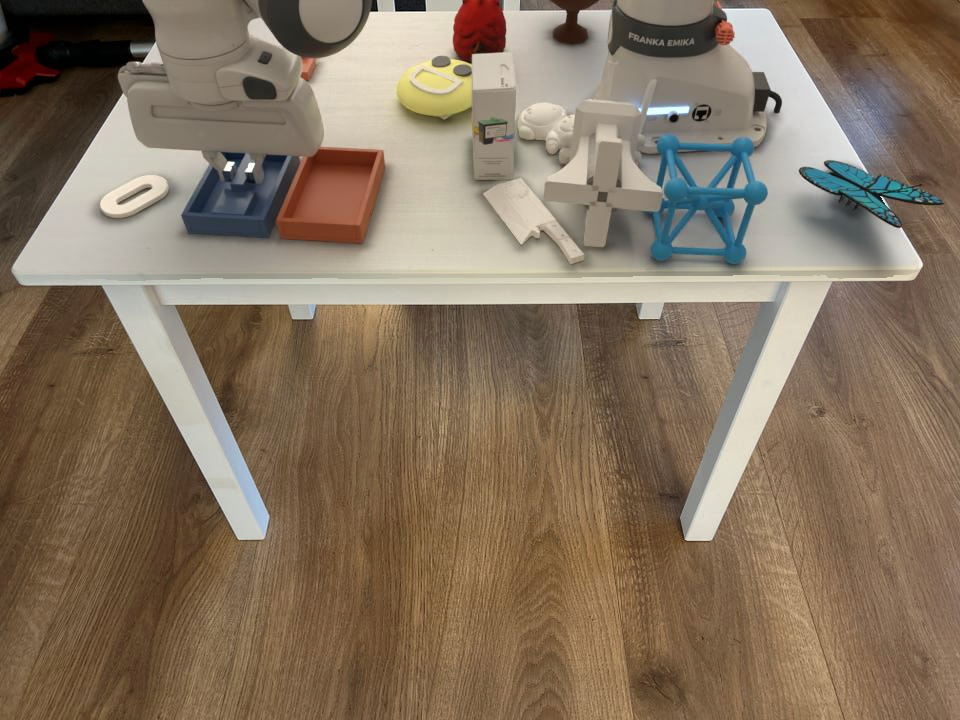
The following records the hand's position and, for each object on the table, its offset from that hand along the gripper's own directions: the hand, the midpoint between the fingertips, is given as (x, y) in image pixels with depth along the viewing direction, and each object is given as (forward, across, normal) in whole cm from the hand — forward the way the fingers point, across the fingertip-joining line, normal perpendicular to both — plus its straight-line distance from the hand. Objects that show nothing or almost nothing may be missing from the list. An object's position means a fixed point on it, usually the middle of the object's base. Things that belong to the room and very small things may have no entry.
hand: (243, 180), depth 87 cm
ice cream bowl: (+2, +37, +42) cm, 56 cm away
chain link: (+2, -10, -4) cm, 11 cm away
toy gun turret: (-5, +40, -6) cm, 41 cm away
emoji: (+2, +20, +22) cm, 30 cm away
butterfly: (+2, +70, +3) cm, 70 cm away
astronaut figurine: (+2, +41, +12) cm, 43 cm away
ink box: (+2, +28, +9) cm, 30 cm away
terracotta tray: (+2, +11, 0) cm, 11 cm away
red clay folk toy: (+2, +24, +34) cm, 42 cm away
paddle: (+1, 0, 0) cm, 1 cm away
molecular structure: (-3, +56, -3) cm, 56 cm away
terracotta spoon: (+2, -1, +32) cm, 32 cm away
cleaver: (+3, +33, -4) cm, 33 cm away
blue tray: (+2, 0, 0) cm, 2 cm away
